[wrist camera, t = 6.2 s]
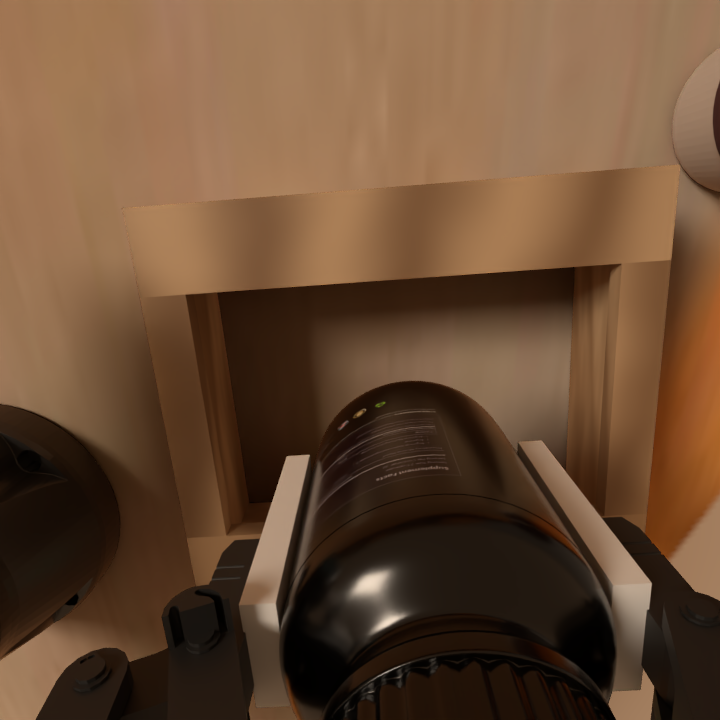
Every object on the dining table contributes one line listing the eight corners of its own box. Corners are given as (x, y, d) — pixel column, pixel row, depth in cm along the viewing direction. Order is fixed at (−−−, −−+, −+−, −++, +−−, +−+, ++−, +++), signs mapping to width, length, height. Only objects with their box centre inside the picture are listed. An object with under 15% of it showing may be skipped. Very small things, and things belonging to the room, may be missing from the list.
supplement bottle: (539, 490, 18) (832, 954, 7) (380, 574, 19) (402, 1098, 8) (445, 334, 17) (619, 599, 5) (277, 436, 18) (119, 838, 6)
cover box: (233, 520, 33) (198, 599, 26) (182, 209, 27) (122, 208, 21) (583, 501, 32) (640, 578, 25) (601, 177, 27) (680, 164, 20)
